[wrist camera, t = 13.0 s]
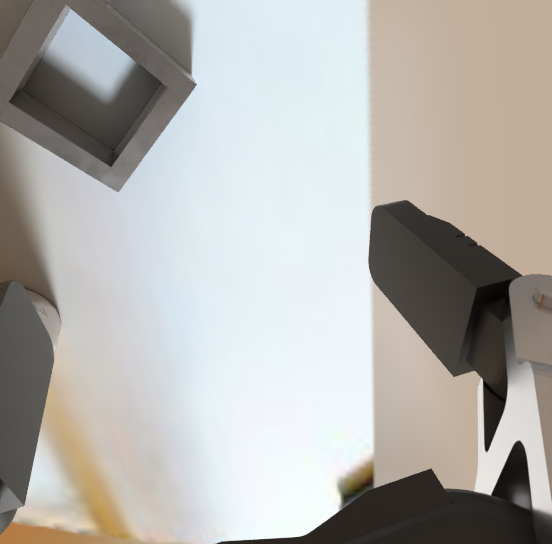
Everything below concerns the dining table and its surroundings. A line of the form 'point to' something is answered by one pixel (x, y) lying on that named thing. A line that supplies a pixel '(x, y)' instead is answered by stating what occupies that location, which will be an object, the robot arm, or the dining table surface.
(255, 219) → the dining table surface
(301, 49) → the dining table surface
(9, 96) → the sleeve
